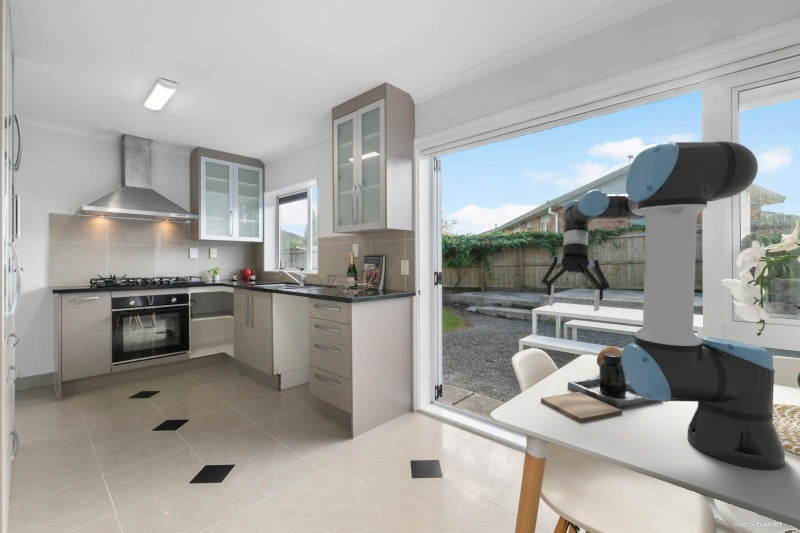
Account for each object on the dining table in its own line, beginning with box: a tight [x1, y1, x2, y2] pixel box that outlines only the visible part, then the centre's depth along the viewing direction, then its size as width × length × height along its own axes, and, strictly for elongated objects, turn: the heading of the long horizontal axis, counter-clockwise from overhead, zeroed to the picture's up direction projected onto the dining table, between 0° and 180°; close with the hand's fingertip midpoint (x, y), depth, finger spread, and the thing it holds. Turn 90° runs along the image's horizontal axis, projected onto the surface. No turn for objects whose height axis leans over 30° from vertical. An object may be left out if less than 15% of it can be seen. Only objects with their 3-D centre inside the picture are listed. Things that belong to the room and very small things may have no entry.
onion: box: [596, 345, 623, 368], centre depth 126 cm, size 10×10×10 cm
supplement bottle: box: [599, 353, 627, 399], centre depth 108 cm, size 7×7×12 cm
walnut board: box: [540, 391, 623, 423], centre depth 98 cm, size 14×14×1 cm
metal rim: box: [567, 376, 660, 410], centre depth 108 cm, size 17×17×2 cm
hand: (573, 307), depth 116 cm, fingers open, 13 cm apart
